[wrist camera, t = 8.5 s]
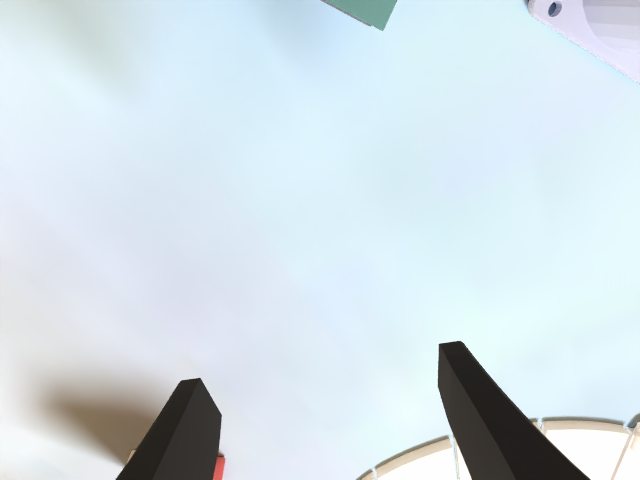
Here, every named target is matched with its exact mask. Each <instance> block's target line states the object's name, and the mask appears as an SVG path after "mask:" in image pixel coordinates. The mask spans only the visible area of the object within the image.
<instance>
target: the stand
mask: <svg viewBox="0 0 640 480" xmlns="http://www.w3.org/2000/svg"><path fill="white" fill-rule="evenodd" d="M321 1H323V2H325V3H327V4H329V5H330V6H332V7H334V8H336V9H338V10H340V11H342V12H344V13H345V14H347V15H349V16H351V17H353V18H355V19H357V20H358V21H360V22H362V23H364V24H366V25H368V26H371V25H372V26H374V27H376V28H378V29H379V30H382V31H383V30H384V28H385V26H386V23H387V21H388V19H389V17H390V15H391V13H392V11H393V8H394V6H395V4H396V2H397V0H321Z"/></svg>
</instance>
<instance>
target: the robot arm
mask: <svg viewBox="0 0 640 480" xmlns="http://www.w3.org/2000/svg"><path fill="white" fill-rule="evenodd" d="M553 2H555V4H556V9H555V11H554V13H553V14H552V15H551V16H549V14H548V9H549V7H550V5H551V4H552V3H553ZM528 11H529V14H530V15H531V16H532V17H534V18H535V19H537V20H538V21H540V22H542V23H543V24H545V25H546V26H548V27H550V28H551V29H553V30H554V31H556V32H558V33H559V34H561V35H562V36H564V37H566V38H567V39H569V40H570V41H572V42H574V43H575V44H577V45H578V46H580V47H582V48H583V49H585V50H586V51H588V52H590V53H591V54H593V55H594V56H596V57H598V58H599V59H601V60H602V61H604V62H606V63H607V64H609V65H610V66H612V67H613V68H615V69H617V70H618V71H620V72H621V73H623V74H625V75H626V76H628V77H629V78H631V79H633V80H634V81H636V82H637V83H639V84H640V0H529V3H528ZM438 388H439V392H440V395H441V399H442V402H443V406H444V409H445V412H446V415H447V419H448V422H449V424H450V427H451V429H452V432H453V434H454V437H455V439H456V442H457V444H458V447H459V449H460V452H461V454H462V457H463V459H464V462H465V464H466V467H467V469H468V471H469V474H470V476H471V479H472V480H591V479H590V478H589V477H588V476H586V475H585V474H584V473H583V472H582V471H581V470H580V469H579V468H578V467H577V466H575V465H574V464H573V463H572V462H571V461H570V460H569V459H568V458H567V457H566V456H565V455H564V454H563V453H562V452H561V451H560V450H559V449H558V448H557V447H556V446H555V445H554V444H553V443H552V442H551V441H550V440H549V439H548V438H547V437H546V436H545V435H544V434H543V433H542V432H541V431H540V430H539V429H538V428H537V427H536V426H535V425H534V424H533V423H532V422H531V421H530V420H529V419H528V418H527V417H526V416H525V415H524V414H523V413H522V412H521V411H520V409H519V408H518V407H517V406H516V405H515V404H514V403H513V402H512V401H511V400H510V399H509V397H508V396H507V395H506V394H505V393H504V392H503V391H502V390H501V388H500V387H499V386H498V385H497V384H496V383H495V382H494V380H493V379H492V378H491V377H490V376H489V374H488V373H487V372H486V371H485V370H484V368H483V367H482V366H481V365H480V364H479V362H478V361H477V360H476V359H475V357H474V356H473V355H472V353H471V352H470V351H469V350H468V348H467V347H466V346H465V344H464V343H463V342H461V341H456V342H449V343H442V344H439V361H438ZM221 417H222V415H221V413H220V411H219V410H218V408H217V406H216V404H215V403H214V401H213V399H212V397H211V396H210V394H209V392H208V391H207V389H206V387H205V385H204V384H203V382H202V380H201V378H196V379H189V380H182V381H180V383H179V384H178V386H177V387H176V389H175V390H174V392H173V393H172V395H171V397H170V398H169V400H168V401H167V403H166V404H165V406H164V408H163V409H162V411H161V412H160V414H159V416H158V417H157V419H156V420H155V422H154V423H153V425H152V426H151V428H150V430H149V431H148V433H147V434H146V436H145V437H144V439H143V440H142V442H141V443H140V445H139V446H138V448H137V449H136V451H135V452H134V454H133V455H132V457H131V458H130V460H129V461H128V463H127V464H126V466H125V467H124V468H123V470H122V471H121V473H120V474H119V475H118V477H117V478H116V480H213V476H214V471H215V466H216V461H217V456H218V450H219V441H220V430H221Z"/></svg>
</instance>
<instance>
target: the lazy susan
mask: <svg viewBox="0 0 640 480" xmlns="http://www.w3.org/2000/svg"><path fill="white" fill-rule="evenodd" d="M532 423H533V424H534V425H535V426H536V427H537V428H538V429H539V430H540V431H541V432H542V433H543V434H544V435H545V436H546V437H547V438H548V439H549V440H550V441H551V442H552V443H553V444H554V445H555V446H556V447H557V448H558V449H559V450H560V451H561V452H562V453H563V454H564V455H565V456H566V457H567V458H568V459H569V460H570V461H571V462H572V463H573V464H574V465H575V466H577V467H578V468H579V469H580V470H581V471H582V472H583V473H584V474H585V475H586V476H588V477H589V478H590V479H591V480H640V422H638V423H637V425H636V427H635V428H630V427H626V430H625V428H624V427H623V426H622V425H617V424H611V423H604V422H594V421H574V420H564V421H542V426H541V428H540V426H539V424H538V422H532ZM454 445H455V455H456V464H457V473H458V480H472V479H471V476H470V474H469V471H468V469H467V467H466V464H465V462H464V459H463V457H462V454H461V452H460V449H459V447H458V444H457V442H456V439H455V437H454ZM376 471H377V477H378V480H456V476H455V468H454V459H453V451H452V445H451V443H450V440H449V438H448V439H445V440H442V441H439V442H436V443H433V444H430V445H427V446H424V447H422V448H419V449H416V450H414V451H412V452H409V453H407V454H405V455H402V456H400V457H398V458H396V459H394V460H392V461H390V462H388V463H386V464H384V465H383V466H381V467H379V468H377V469H376ZM361 480H376V479H375V476H374V474H373V472H371V473H369V474H368V475H367V476H365V477H364V478H362V479H361Z"/></svg>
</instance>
